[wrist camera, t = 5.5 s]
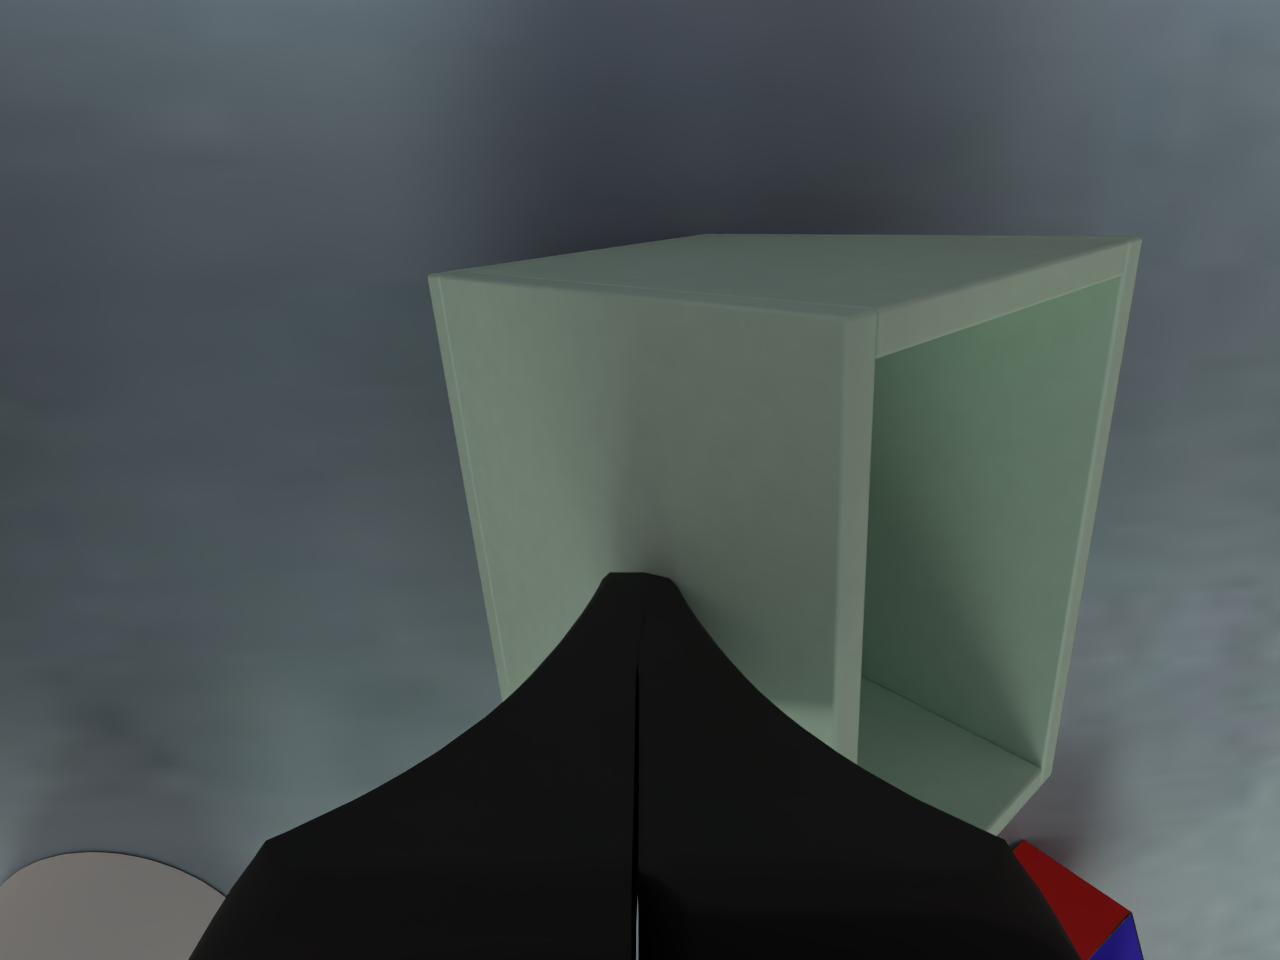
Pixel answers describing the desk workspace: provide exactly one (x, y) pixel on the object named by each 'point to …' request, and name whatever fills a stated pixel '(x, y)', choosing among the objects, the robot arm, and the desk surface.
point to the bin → (809, 472)
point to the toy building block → (1082, 909)
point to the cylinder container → (103, 909)
